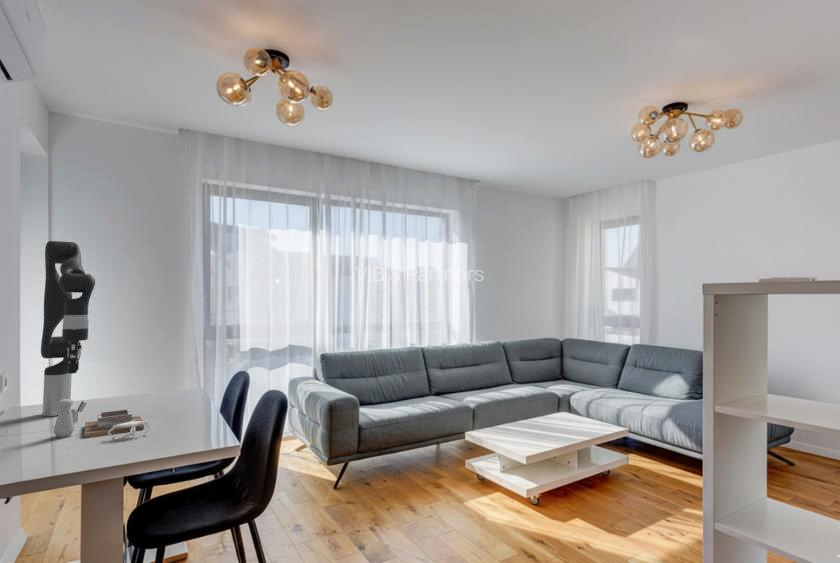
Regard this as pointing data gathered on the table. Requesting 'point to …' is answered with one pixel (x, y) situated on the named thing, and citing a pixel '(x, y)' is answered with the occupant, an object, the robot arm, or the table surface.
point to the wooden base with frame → (111, 423)
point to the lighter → (75, 413)
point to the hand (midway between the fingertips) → (73, 372)
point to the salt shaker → (64, 419)
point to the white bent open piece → (132, 424)
